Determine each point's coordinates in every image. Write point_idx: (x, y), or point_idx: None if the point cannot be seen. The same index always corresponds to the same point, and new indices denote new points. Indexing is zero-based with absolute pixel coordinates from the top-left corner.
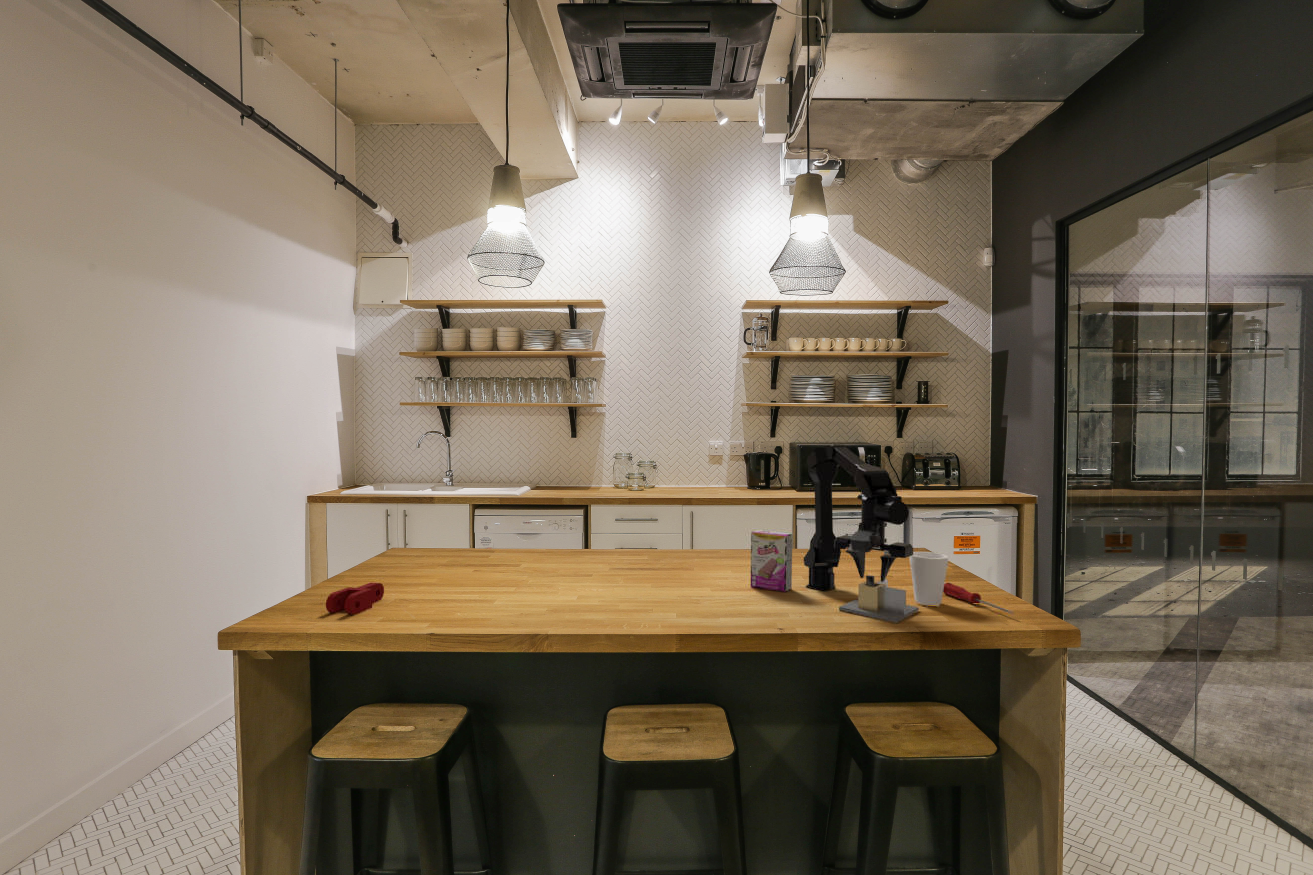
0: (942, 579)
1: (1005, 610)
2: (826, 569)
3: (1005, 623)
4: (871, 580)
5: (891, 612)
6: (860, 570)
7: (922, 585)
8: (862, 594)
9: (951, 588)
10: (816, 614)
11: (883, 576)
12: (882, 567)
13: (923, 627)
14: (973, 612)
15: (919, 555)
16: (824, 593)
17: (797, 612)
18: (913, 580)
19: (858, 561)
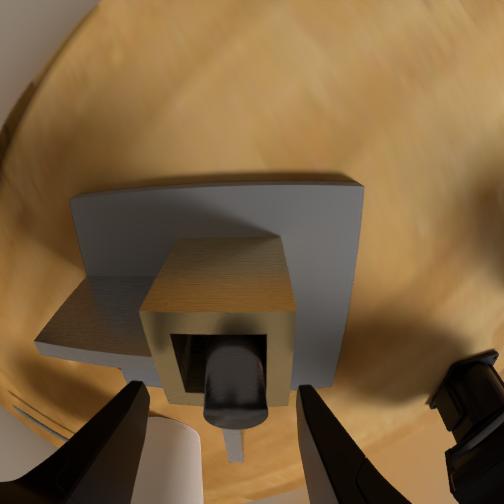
0: None
1: (28, 416)
2: (476, 420)
3: (3, 372)
4: (212, 378)
5: (134, 274)
6: (315, 429)
7: (146, 464)
8: (259, 273)
9: None
10: (402, 56)
11: (106, 405)
12: (79, 460)
13: (17, 222)
14: (71, 413)
15: None
16: (453, 346)
17: (461, 46)
18: (183, 481)
19: (347, 498)
